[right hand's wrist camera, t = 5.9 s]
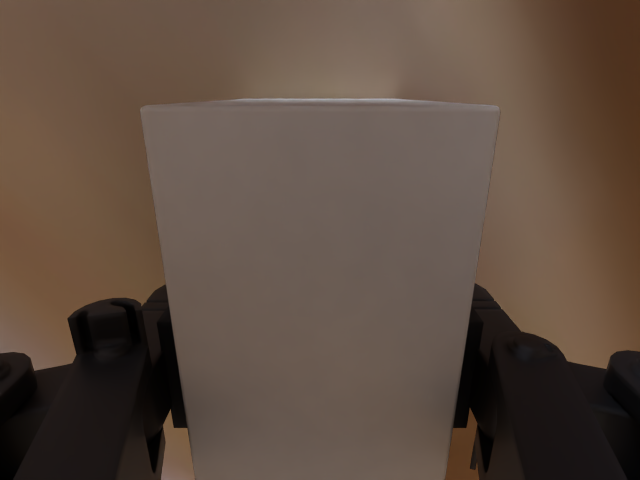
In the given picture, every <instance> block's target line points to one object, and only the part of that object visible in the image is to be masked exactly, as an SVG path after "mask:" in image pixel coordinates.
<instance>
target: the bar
mask: <svg viewBox="0 0 640 480" xmlns="http://www.w3.org/2000/svg"><path fill="white" fill-rule="evenodd" d="M140 115H141V121H142V128H143V135H144V141H145V148H146V155H147V161H148V168H149V175H150V181H151V188H152V195H153V201H154V208H155V215H156V221H157V228H158V235H159V241H160V248H161V255H162V261H163V268H164V275H165V281H166V288H167V295H168V301H169V308H170V315H171V321H172V328H173V335H174V341H175V348H176V355H177V361H178V368H179V375H180V381H181V388H182V395H183V401H184V408H185V415H186V421H187V428H188V435H189V441H190V448H191V455H192V461H193V468H194V475H195V480H445V477H446V470H447V463H448V457H449V450H450V443H451V437H452V430H453V423H454V417H455V410H456V403H457V397H458V390H459V384H460V377H461V370H462V364H463V357H464V350H465V344H466V337H467V330H468V324H469V317H470V311H471V304H472V297H473V291H474V284H475V277H476V271H477V264H478V257H479V251H480V244H481V237H482V231H483V224H484V218H485V211H486V204H487V198H488V191H489V184H490V178H491V171H492V164H493V158H494V151H495V145H496V138H497V131H498V125H499V118H500V108H499V107H498V106H495V105H484V104H468V103H452V102H437V101H421V100H405V99H234V100H219V101H203V102H188V103H172V104H156V105H145V106H143V107H141V110H140Z"/></svg>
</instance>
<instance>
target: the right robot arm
mask: <svg viewBox="0 0 640 480" xmlns="http://www.w3.org/2000/svg"><path fill="white" fill-rule="evenodd" d="M68 323H69V327H70V331H71V335H72V338H73V342H74V346H75V350H76V354H77V355H76V357H75V359H74V361H73V363H71V364H67V365H63V366H58V367H52V368H47V369H42V370H37V371H34V369H33V365H32V362H31V359H30V357H28V356H27V355H25V354H24V353H16V352H10V353H0V480H161V473H162V466H163V458H164V450H165V436H164V430H163V424H164V421H165V419H166V417H167V415H168V413H169V411H170V409H171V413H172V419H173V425H174V428H187V421H186V415H185V408H184V401H183V395H182V388H181V381H180V375H179V368H178V361H177V355H176V348H175V341H174V335H173V328H172V321H171V315H170V308H169V301H168V295H167V288H166V285H164V286H162V287H160V288H159V289H157V290H155V291H154V292H153V294H152V295H151V296H150V297H149V298H148V300H147V303H144V304H143V306H141V303H139V302H138V301H136V300H134V299H129V298H111V299H106V300H101V301H97V302H94V303H91V304H88V305H86V306H84V307H82V308H80V309H78V310H77V311H75V312H74V313H73V314H72V315H71V316H70V317H69V318H68ZM470 408H471V410H472V413H473V415H474V417H475V419H476V421H477V423H478V424H477V430H476V435H475V441H474V447H473V452H472V458H471V464H470V469H474V470H475V469H476V463H477V465H478V472H479V480H640V352H638V351H629V350H627V351H619V352H616V353H614V354H613V355H612V356H611V357H610V360H609V363H608V367H607V369H603V368H597V367H592V366H587V365H582V364H576V363H572V362H568V361H567V360H566V358H565V356H564V355H563V353H562V352H561V351H560V350H559V349H558V347H557V346H555V345H554V344H552V343H551V342H549V341H548V340H546V339H544V338H541V337H539V336H536V335H534V334H529V333H525V332H521V331H520V330H519V328H518V327H517V326H516V325H515V324H514V322H513V321H512V320H511V319H510V318H509V317H508V315H507V314H506V313H505V312H504V311H503V309H501V307H500V306H499V305H498V304H497V302H496V301H494V299H493V298H492V296H491V295H490V294H489V293H488V292H487V290H486V289H484V288H482V287H481V286H479V285H477V284H474V291H473V297H472V304H471V311H470V317H469V324H468V330H467V337H466V344H465V350H464V357H463V364H462V370H461V377H460V384H459V390H458V397H457V403H456V410H455V417H454V423H453V428H466V427H467V421H468V415H469V409H470Z"/></svg>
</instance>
